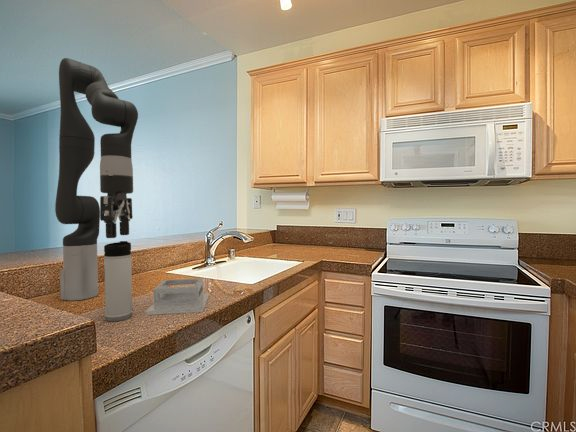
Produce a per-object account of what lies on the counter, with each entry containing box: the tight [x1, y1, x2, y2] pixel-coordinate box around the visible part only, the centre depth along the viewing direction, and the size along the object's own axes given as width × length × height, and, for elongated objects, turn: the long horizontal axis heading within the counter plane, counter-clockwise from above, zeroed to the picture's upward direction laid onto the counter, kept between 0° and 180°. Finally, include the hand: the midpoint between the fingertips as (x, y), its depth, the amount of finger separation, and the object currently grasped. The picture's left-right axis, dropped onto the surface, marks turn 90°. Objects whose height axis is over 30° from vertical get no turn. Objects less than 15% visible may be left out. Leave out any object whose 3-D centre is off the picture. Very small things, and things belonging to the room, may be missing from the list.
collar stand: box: [145, 277, 210, 316], centre depth 88 cm, size 15×15×6 cm
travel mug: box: [103, 240, 133, 323], centre depth 78 cm, size 6×7×20 cm
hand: (118, 236), depth 78 cm, fingers open, 8 cm apart
